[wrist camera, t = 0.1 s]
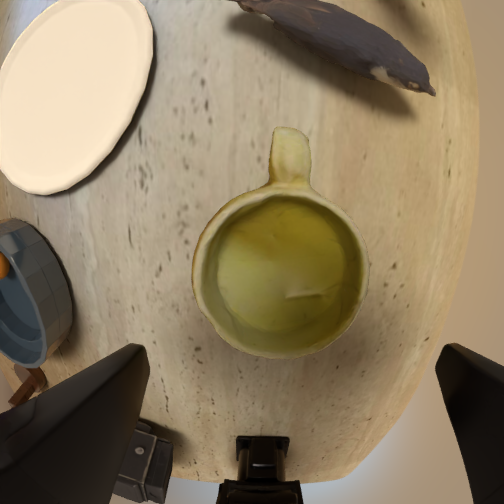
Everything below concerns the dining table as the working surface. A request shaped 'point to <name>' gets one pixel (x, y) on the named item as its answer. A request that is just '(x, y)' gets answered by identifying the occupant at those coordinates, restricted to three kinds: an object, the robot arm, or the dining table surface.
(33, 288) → the bowl
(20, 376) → the ladle
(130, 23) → the plate
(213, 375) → the dining table surface
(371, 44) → the bird model
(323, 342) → the mug
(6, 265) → the orange ball
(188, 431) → the dining table surface
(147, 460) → the camera
